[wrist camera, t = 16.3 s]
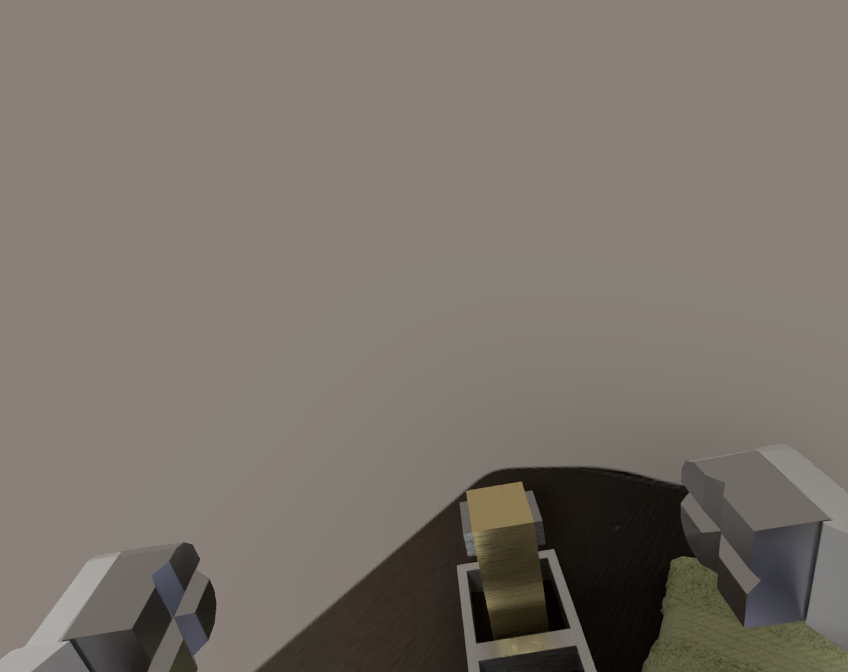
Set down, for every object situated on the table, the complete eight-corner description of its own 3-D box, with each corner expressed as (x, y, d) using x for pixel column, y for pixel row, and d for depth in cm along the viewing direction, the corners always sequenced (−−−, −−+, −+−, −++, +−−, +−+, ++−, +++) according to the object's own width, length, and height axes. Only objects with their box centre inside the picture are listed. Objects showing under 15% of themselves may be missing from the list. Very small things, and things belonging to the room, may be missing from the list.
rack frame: (488, 813, 28) (481, 787, 27) (461, 587, 42) (456, 565, 41) (631, 792, 28) (629, 765, 27) (556, 571, 41) (554, 549, 40)
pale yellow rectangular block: (487, 649, 37) (462, 533, 32) (480, 601, 40) (457, 492, 36) (558, 638, 36) (543, 520, 32) (545, 591, 40) (529, 480, 36)
